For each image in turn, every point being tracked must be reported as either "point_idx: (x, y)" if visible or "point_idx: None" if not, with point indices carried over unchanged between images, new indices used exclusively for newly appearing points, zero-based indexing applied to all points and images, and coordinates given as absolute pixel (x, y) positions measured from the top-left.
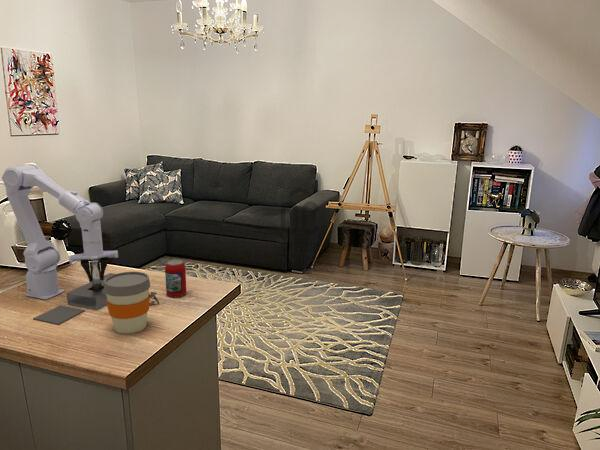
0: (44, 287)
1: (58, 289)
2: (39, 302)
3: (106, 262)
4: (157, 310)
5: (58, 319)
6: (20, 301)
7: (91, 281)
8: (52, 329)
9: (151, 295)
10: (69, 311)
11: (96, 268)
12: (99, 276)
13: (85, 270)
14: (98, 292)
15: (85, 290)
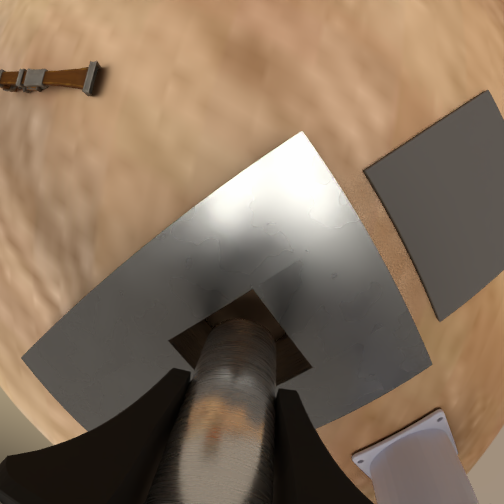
0: (446, 457)
1: (379, 460)
2: (463, 394)
3: (8, 470)
4: (47, 21)
5: (487, 139)
6: (486, 418)
7: (280, 388)
8: (501, 71)
9: (2, 70)
10: (435, 208)
11: (197, 481)
12: (195, 398)
13: (351, 486)
14: (251, 263)
15: (326, 354)
